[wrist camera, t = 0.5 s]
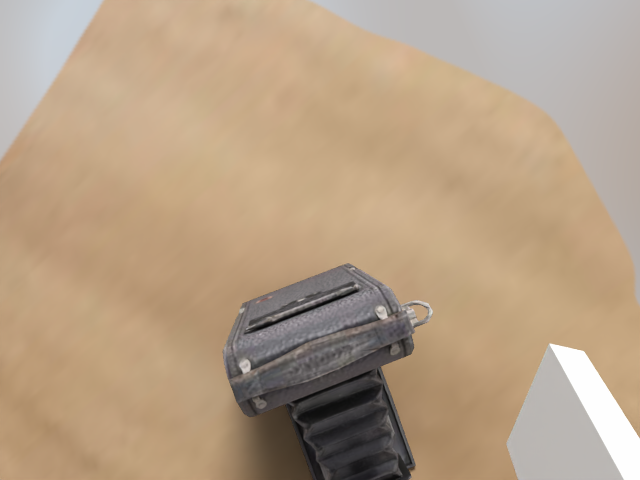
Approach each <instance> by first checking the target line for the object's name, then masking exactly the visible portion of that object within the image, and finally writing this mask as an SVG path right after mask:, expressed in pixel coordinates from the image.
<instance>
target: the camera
mask: <svg viewBox="0 0 640 480" xmlns="http://www.w3.org/2000/svg"><path fill="white" fill-rule="evenodd" d="M412 305H422V306H424V307H426V308H427V310H428V315H427V316H426V318H425V319H424V320H421V321H418V320H417V318H416V315H415V312H414V310H413V309H410V307H409V306H412ZM402 309H403V310H402ZM432 314H433V311H432V309H431V307H430V306H429V304H428V303H425V302H422V301H418V300H415V301H411V302H408V303H405V304H402V305H400V304H399V302H398V300H397V298H396V296H395V295H394V293H393V291H392V290H391V288H389V287H388V286H386V285H385V284H383V283H381V282H380V281H378V280H376V279H375V278H373V277H371V276H370V275H368V274H367V273H365V272H363V271H362V270H360V269H358V268H356V267H354V266H353V265H352V264H349V263H347V264H344V265H342V266H339V267H337V268H334V269H331V270H329V271H326V272H323V273H321V274H318V275H316V276H313V277H310V278H308V279H305V280H303V281H300V282H297V283H295V284H292V285H290V286H287V287H284V288H282V289H279V290H276V291H274V292H271V293H269V294H266V295H263V296H261V297H258V298H256V299H253V300H250V301H248V302H245V303H243V304H242V306H241V308H240V311H239V315H238V316H237V318H236V320H235V323H234V325H233V328H232V330H231V332H230V335H229V337H228V340H227V342H226V344H225V347H224V349H223V358H224V365H225V369H226V373H227V377H228V379H229V382H230V385H231V388H232V390H233V393H234V396H235V399H236V401H237V403H238V405H239V406H240V408H241V410H242V411H243V413H244V414H245V415H247V416H249V417H254V416H256V415H259V414H261V413H264V412H266V411H269V410H271V409H274V408H277V407H279V406H282V405H284V404H286V407H287V410H288V412H289V415H290V418H291V420H292V423H293V426H294V429H295V431H296V434H297V437H298V439H299V442H300V445H301V448H302V450H303V453H304V456H305V458H306V461H307V464H308V467H309V469H310V472H311V475H312V477H313V480H409V479H410V478H411V474H410V472H409V470H408V468H411V467H413V466H416V465H415V462H414V459H413V456H412V453H411V450H410V447H409V445H408V442H407V439H406V436H405V433H404V430H403V427H402V424H401V422H400V419H399V416H398V413H397V410H396V407H395V404H394V402H393V399H392V396H391V393H390V391H389V388H388V385H387V383H386V380H385V377H384V375H383V372H382V369H381V367H380V366H383V365H385V364H388V363H390V362H393V361H395V360H398V359H401V358H403V357H406V356H408V355H411V354H412V351H413V349H414V344H413V339H412V335H411V334H413V333H415V330H414V328H415V327H417V326H420V325H422V324H425V323H427V322H429V320H430V318H431V316H432Z"/></svg>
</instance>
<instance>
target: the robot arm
mask: <svg viewBox="0 0 640 480" xmlns="http://www.w3.org/2000/svg"><path fill="white" fill-rule="evenodd" d="M507 447H508V450H509V453H510V456H511V459H512V462H513V465H514V468H515V472H516V475H517V478H518V480H640V439H639V437H638V435H637V434H636V432H635V431H634V429H633V428H632V426H631V424H630V423H629V421H628V420H627V418H626V417H625V415H624V413H623V412H622V410H621V409H620V407H619V406H618V404H617V402H616V401H615V399H614V398H613V396H612V395H611V393H610V391H609V390H608V388H607V387H606V385H605V384H604V382H603V380H602V379H601V377H600V376H599V374H598V373H597V371H596V369H595V368H594V366H593V365H592V363H591V362H590V360H589V358H588V357H587V355H586V354H585V352H584V351H580V350H576V349H572V348H567V347H563V346H558V345H554V344H549V345H548V347H547V350H546V352H545V354H544V357H543V359H542V361H541V364H540V366H539V368H538V371H537V373H536V375H535V378H534V380H533V383H532V385H531V387H530V390H529V392H528V394H527V397H526V399H525V401H524V404H523V406H522V408H521V411H520V413H519V415H518V418H517V420H516V422H515V425H514V427H513V429H512V432H511V434H510V436H509V439H508V441H507Z"/></svg>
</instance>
